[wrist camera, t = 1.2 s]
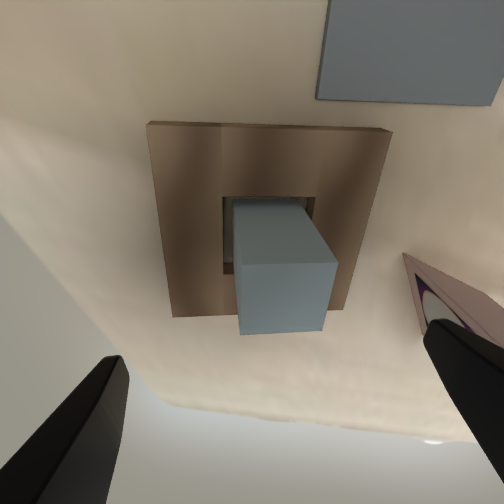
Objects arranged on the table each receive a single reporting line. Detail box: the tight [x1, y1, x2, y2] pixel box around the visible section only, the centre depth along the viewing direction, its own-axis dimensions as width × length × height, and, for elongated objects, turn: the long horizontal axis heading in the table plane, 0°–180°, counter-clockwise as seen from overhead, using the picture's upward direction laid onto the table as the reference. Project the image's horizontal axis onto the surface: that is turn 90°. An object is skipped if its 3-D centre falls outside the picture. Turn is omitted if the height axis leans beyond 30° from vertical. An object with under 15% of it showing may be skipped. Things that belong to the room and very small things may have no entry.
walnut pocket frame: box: [146, 121, 393, 317], centre depth 20 cm, size 14×14×2 cm
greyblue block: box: [233, 199, 339, 335], centre depth 18 cm, size 4×4×8 cm
